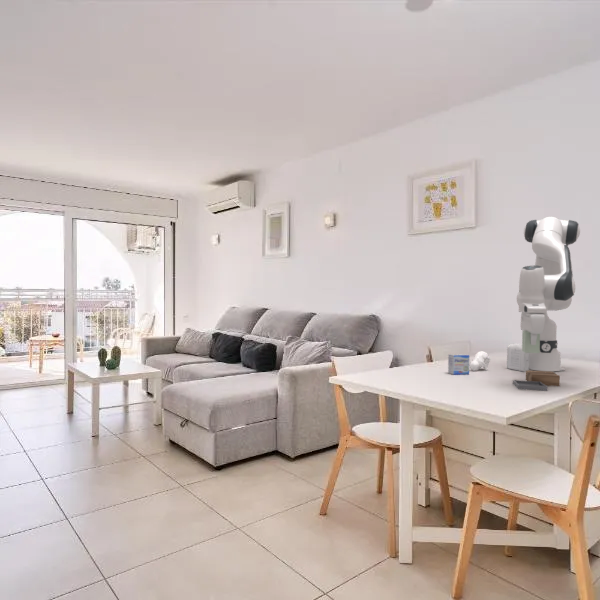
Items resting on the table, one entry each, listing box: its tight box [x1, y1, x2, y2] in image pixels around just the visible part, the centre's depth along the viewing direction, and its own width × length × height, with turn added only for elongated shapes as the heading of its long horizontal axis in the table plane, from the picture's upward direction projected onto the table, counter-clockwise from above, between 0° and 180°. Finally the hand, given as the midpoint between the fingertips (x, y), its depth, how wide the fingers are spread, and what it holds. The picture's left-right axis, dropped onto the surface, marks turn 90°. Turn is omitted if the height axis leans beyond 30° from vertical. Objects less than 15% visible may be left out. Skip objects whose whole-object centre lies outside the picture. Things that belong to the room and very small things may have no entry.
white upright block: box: [506, 343, 530, 373], centre depth 214 cm, size 10×4×12 cm, turn 28°
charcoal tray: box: [512, 379, 549, 392], centre depth 175 cm, size 10×10×2 cm
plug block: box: [521, 330, 540, 353], centre depth 174 cm, size 5×5×8 cm
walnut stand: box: [525, 369, 561, 387], centre depth 184 cm, size 10×10×4 cm
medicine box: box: [447, 353, 470, 376], centre depth 202 cm, size 8×4×9 cm, turn 101°
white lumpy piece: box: [469, 350, 491, 372], centre depth 213 cm, size 6×8×12 cm
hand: (530, 343), depth 174 cm, fingers closed on plug block, 5 cm apart
